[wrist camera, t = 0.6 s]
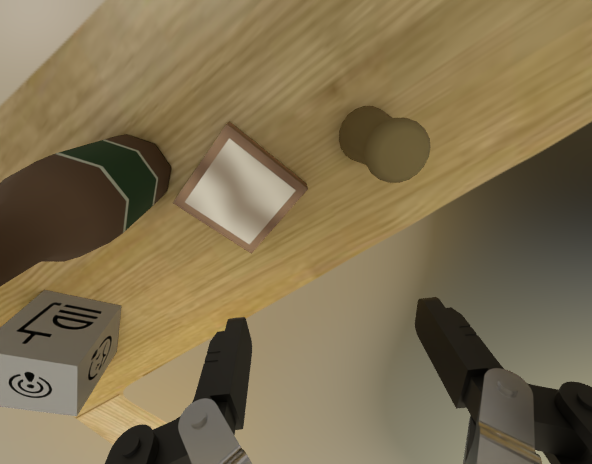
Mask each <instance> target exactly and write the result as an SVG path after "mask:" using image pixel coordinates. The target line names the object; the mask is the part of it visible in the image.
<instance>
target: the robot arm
mask: <svg viewBox="0 0 592 464" xmlns="http://www.w3.org/2000/svg"><path fill="white" fill-rule="evenodd" d="M415 328H416V332H417V335H418V337H419V339H420V341H421V343H422V345H423V347H424V349H425V350H426V352H427V354H428V356H429V358H430V360H431V362H432V364H433V365H434V367H435V369H436V371H437V373H438V375H439V377H440V378H441V381H442V382H443V384H444V386H445V388H446V390H447V392H448V394H449V396H450V397H451V399H452V401H453V403H454V405H455V407H456V408H465V407H467V409H468V411H469V413H470V414H471V416H470V420H469V426H468V433H467V439H466V446H465V453H464V460H463V464H542V461H541V457H540V456H539V455H538V454H536V452H535V450H538V451H542V452H543V453H544V454H545V455H546V457H547V458H548V460H549V462H550V463H551V464H592V387H590V386H588V385H585V384H582V383H578V382H566V383H564V384H562V386H561V387H560V389H559V390H556V389H551V388H546V387H540V386H535V385H531V384H528V383H526V382H525V381H524V380H523V379H522V378H521V377H519V376H518V375H516V374H514V373H513V372H511V371H508V370H505V369H504V368H503V367H502V366H501V365H500V363H499V362H498V361H497V360H496V358H495V357H494V356H493V354H492V353H491V352H490V351H489V349H488V348H487V347H486V345H485V344H484V343H483V342H482V340H481V339H480V338H479V336H477V335H476V332H475V331H474V330H473V329H472V328H471V327H470V325H469V323H468V322H467V321H466V320H465V318H464V317H463V316H462V315H461V314H460V313H458V312H457V311H456V310H454V309H453V308H445V307H444V305H443V304H442V302H441V301H440V300H439V299H438V298H437V297H432V298H423V299H419V300H418V305H417V312H416V319H415ZM251 356H252V341H251V337H250V333H249V329H248V326H247V322H246V319H245V317H241V318H232V319H228V321H227V325H226V329H225V331H221V332H217V333H216V335H215V336H214V337H213V339H212V340H211V341H210V344H209V348H208V351H207V356H206V358H205V364H204V366H203V369H202V373H201V376H200V380H199V384H198V387H197V390H196V394H195V397H194V400H193V402H192V404H190V405H189V406H188V407H187V408H186V409H185V410H184V412H183V413H182V415H181V416H180V417H179V418H177V419H176V420H174V421H172V422H169V423H167V424H165V425H163V426H160V427H158V428H156V429H154V430H152V429H151V427H149V426H147V425H137V426H134V427H132V428H130V429H128V430H127V431H126V432H124V433H123V434H122V435H121V436H120V437H119V438H118V439H117V441H116V442H115V443H114V445H113V446H112V448H111V450H110V453H109V455H108V457H107V460H106V462H105V464H252V463H251V461H250V459H249V458H248V456H247V454H246V453H245V451H244V450H243V449H242V448H241V446H240V445H239V443H238V441H237V440H236V438H235V436H234V434H235V430H239V429H243V425H244V416H245V407H246V399H247V391H248V382H249V372H250V365H251Z"/></svg>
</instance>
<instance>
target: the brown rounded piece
mask: <svg viewBox="0 0 592 464" xmlns="http://www.w3.org/2000/svg"><path fill="white" fill-rule="evenodd" d="M339 142H340V146H341V149H342V150H343V152H344V154H345V155H346V156H348V157H349V158H350V159H352V160H354V161H357V162H360V163H363V164H366V165H367V167H368V168H369V170H370V172H371V173H372V174H373V175H374V176H376V177H377V178H378V179H380V180H383V181H386V182H390V183H396V182H403V181H406V180H409V179H410V178H412V177H413V176H415V175H416V174H417V173H418V172H419V171H420V170H421V169H422V168H423V167H424V165H425V163H426V161H427V159H428V157H429V152H430V138H429V136H428V134H427V132H426V130H425V129H424V128H423V127H422V126H421V125H420V124H419V123H418V122H416V121H413V120H411V119H408V118H392V117H390V116H389V115H388V114H386V113H385V112H384V111H382V110H381V109H379V108H376V107H373V106H363V107H361V108H358V109H355V110H354V111H353V112H351V113H350V114H349V115H348V116H347V117H346V119H345V120H344V121H343V123H342V126H341V128H340V131H339Z"/></svg>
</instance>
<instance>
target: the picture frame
mask: <svg viewBox="0 0 592 464" xmlns="http://www.w3.org/2000/svg"><path fill="white" fill-rule="evenodd" d="M307 190H308V187H307V184H306V183H305V182H304V181H302V180H301V179H300V178H299V177H297V176H296V175H295V174H294V173H293V172H291V171H290V170H289V169H288V168H286V167H285V166H284V165H283V164H281V163H280V162H279V161H278V160H276V159H275V158H274V157H273V156H272V155H270V154H269V153H268V152H267V151H265V150H264V149H263V148H262V147H260V146H259V145H258V144H257V143H255V142H254V141H253V140H252V139H250V138H249V137H248V136H247V135H246V134H244V133H243V132H242V131H241V130H239V129H238V128H237V127H236V126H234V125H233V124H232V123H231V122H228V123H227V124H226V125H225V127H224V128H223V130H222V131H221V133H220V134H219V136H218V137H217V139H216V140H215V141H214V143H213V144H212V146H211V147H210V149H209V150H208V152H207V153H206V155H205V156H204V158H203V159H202V161H201V162H200V163H199V165H198V166H197V168H196V169H195V171H194V172H193V174H192V175H191V177H190V178H189V180H188V181H187V183H186V184H185V185H184V187H183V188H182V190H181V191H180V193H179V194H178V196H177V197H176V199H175V200H174V202H173V204H175V205H177V206H178V207H180V208H181V209H183V210H184V211H186V212H187V213H189V214H191V215H192V216H194V217H195V218H197V219H198V220H200V221H201V222H203V223H205V224H206V225H208V226H209V227H211V228H212V229H214V230H216V231H217V232H219V233H220V234H222V235H223V236H225V237H226V238H228V239H230V240H231V241H233V242H234V243H236V244H237V245H239V246H240V247H242V248H244V249H245V250H247V251H248V252H250V253H252V252H253V251H254V250H255V249H256V248H257V247H258V245H259V244H260V243H261V242H262V241H263V240H264V239H265V237H266V236H267V235H268V234H269V233H270V232H271V231H272V229H273V228H274V227H275V226H276V225H277V224H278V223H279V221H280V220H281V219H282V218H283V217H284V216H285V215H286V213H287V212H288V211H289V210H290V209H291V208H292V207H293V205H294V204H295V203H296V202H297V201H298V200H299V199H300V198H301V196H302V195H303V194H304V193H305V192H306V191H307Z"/></svg>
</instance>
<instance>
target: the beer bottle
mask: <svg viewBox="0 0 592 464" xmlns="http://www.w3.org/2000/svg"><path fill="white" fill-rule="evenodd" d="M170 171H171V167H170V166H169V164H168V163H167V161H166V160H165V158H164V157H163V155H162V154H161V152H160V151H159V149H158V148H157V147H156V145H155V144H153V143H150V142H147V141H144V140H141V139H138V138H135V137H132V136H129V135H120V136H116V137H112V138H109V139H105V140H102V141H98V142H95V143H91V144H87V145H84V146H80V147H77V148H73V149H70V150H66V151H63V152H59V153H56V154H53V155H51V156H48V157H46V158H43V159H41V160H39V161H36V162H34V163H33V164H31V165H29V166H27V167H25V168H24V169H22V170H20V171H18V172H16V173H15V174H13V175H11V176H9V177H7V178H6V179H4V180H3V181H2V182H1V183H0V286H2V285H3V284H5V283H6V282H8V281H10V280H11V279H13V278H14V277H16V276H18V275H19V274H21V273H23V272H24V271H26V270H27V269H29V268H31V267H32V266H34V265H35V264H37V263H39V262H41V261H67V260H70V259H74V258H77V257H80V256H82V255H85V254H87V253H89V252H91V251H93V250H95V249H97V248H99V247H101V246H103V245H105V244H108V243H110V242H111V241H112V240H114V239H115V238H117V237H118V236H119V235H121V234H122V233H123V232H125V231H126V230H127V229H128V228H129V227H130V226H131V225H132V224H133V223H134V222H135V221H136V220H138V219H139V218H140V217H141V216H142V215H143V214H144V213H145V212H146V211H147V210H148V209H150V208H151V207H152V206H153V205H154V204H155V203H156V202H157V201H158V200H159V199H160V198H161V197H163V195H164V194H165V193H166V192H167V189H168V183H169V177H170Z"/></svg>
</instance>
